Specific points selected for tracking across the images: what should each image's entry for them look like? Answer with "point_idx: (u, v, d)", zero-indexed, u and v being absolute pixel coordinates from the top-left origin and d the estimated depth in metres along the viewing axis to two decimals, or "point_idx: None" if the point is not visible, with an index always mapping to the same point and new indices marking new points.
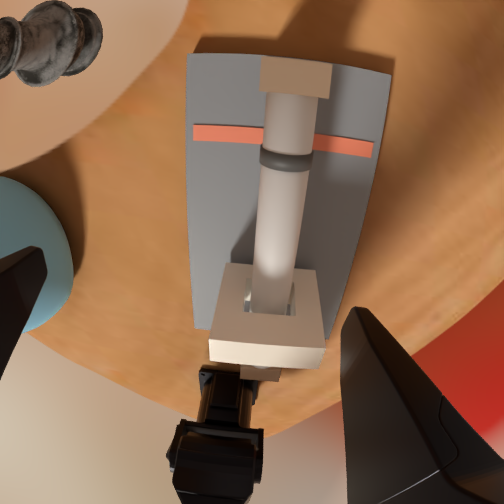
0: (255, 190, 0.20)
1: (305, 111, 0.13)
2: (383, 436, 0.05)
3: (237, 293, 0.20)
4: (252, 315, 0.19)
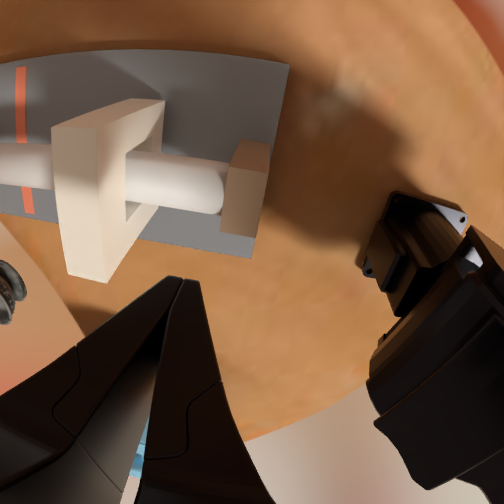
0: None
1: None
2: None
3: None
4: None
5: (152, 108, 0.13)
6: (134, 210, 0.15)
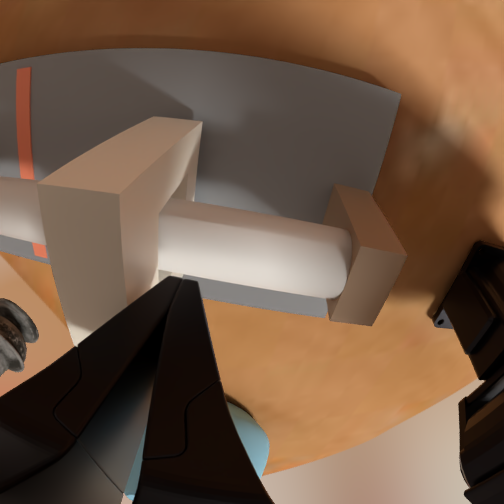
0: None
1: None
2: None
3: None
4: None
5: (189, 136, 0.10)
6: None
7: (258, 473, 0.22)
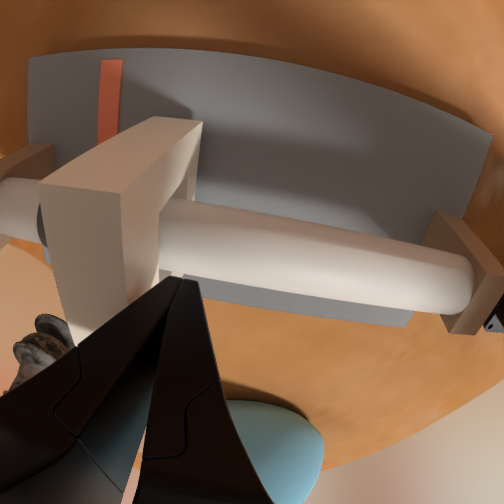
0: None
1: (1, 207, 0.09)
2: None
3: None
4: None
5: (190, 135, 0.10)
6: None
7: (317, 475, 0.22)
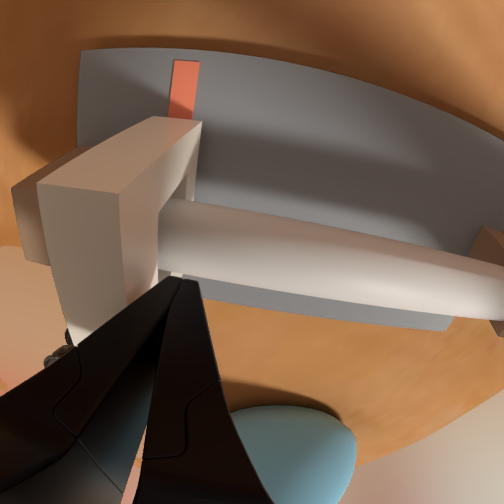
0: None
1: None
2: None
3: None
4: None
5: (189, 135, 0.10)
6: None
7: (351, 475, 0.22)
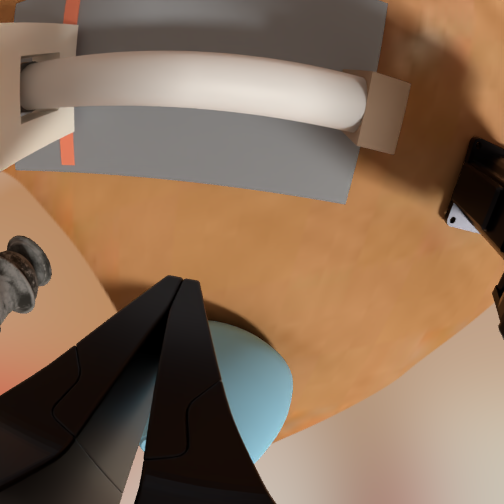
0: None
1: None
2: None
3: None
4: None
5: (59, 26, 0.10)
6: (35, 118, 0.11)
7: (284, 409, 0.23)
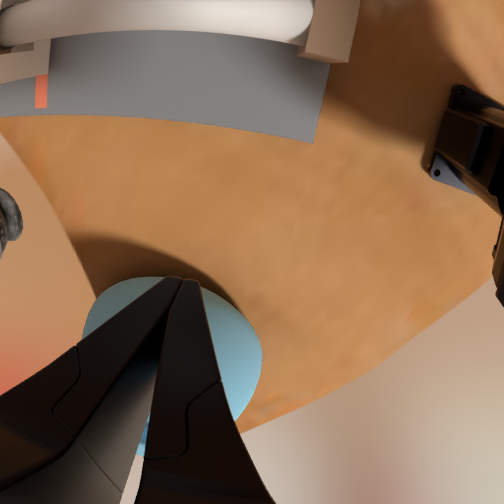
0: (89, 43, 0.13)
1: None
2: None
3: None
4: None
5: None
6: (9, 53, 0.10)
7: (249, 381, 0.21)
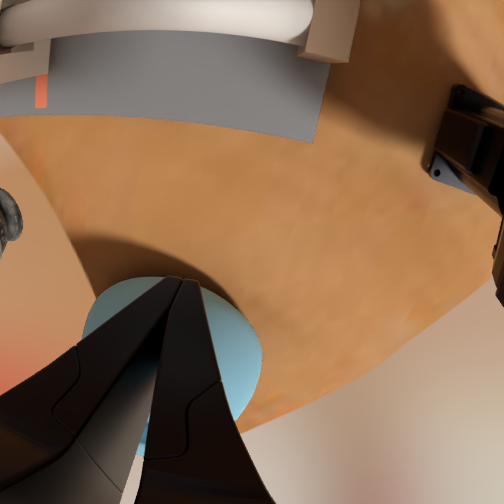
0: (89, 43, 0.13)
1: None
2: None
3: None
4: None
5: None
6: (9, 53, 0.10)
7: (249, 381, 0.21)
